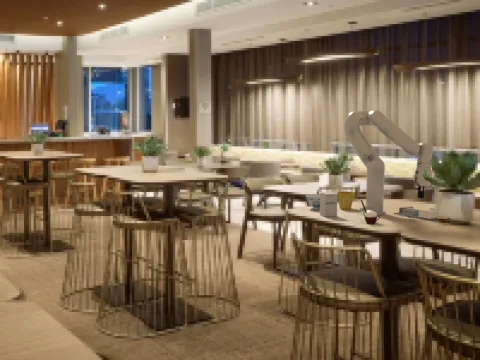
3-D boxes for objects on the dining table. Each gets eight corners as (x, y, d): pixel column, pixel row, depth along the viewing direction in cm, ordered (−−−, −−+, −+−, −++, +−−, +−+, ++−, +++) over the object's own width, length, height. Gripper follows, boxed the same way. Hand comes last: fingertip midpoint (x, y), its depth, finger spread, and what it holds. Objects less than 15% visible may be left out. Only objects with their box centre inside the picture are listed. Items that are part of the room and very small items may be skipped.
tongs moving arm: (422, 215, 327) (422, 210, 327) (404, 212, 338) (405, 207, 337) (424, 215, 328) (424, 210, 328) (407, 212, 339) (407, 207, 338)
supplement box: (324, 217, 328) (325, 193, 327) (319, 214, 336) (319, 192, 334) (337, 216, 330) (337, 193, 329) (331, 214, 337) (332, 191, 336)
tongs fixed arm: (420, 216, 326) (420, 211, 326) (398, 212, 339) (398, 207, 339) (432, 215, 331) (432, 209, 331) (410, 211, 344) (410, 206, 344)
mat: (432, 220, 316) (432, 219, 316) (393, 214, 339) (393, 213, 339) (450, 218, 323) (450, 217, 323) (411, 212, 346) (411, 211, 346)
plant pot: (357, 209, 356) (358, 192, 355) (342, 210, 353) (342, 193, 352) (348, 207, 366) (348, 190, 365) (333, 207, 362) (333, 191, 361)
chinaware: (336, 208, 359) (336, 195, 358) (321, 211, 348) (322, 198, 347) (315, 206, 369) (315, 193, 368) (300, 208, 358) (301, 195, 357)
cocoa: (379, 222, 311) (380, 199, 309) (379, 224, 305) (380, 200, 303) (360, 221, 313) (360, 198, 312) (360, 223, 307) (360, 200, 305)
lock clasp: (429, 218, 317) (430, 211, 317) (418, 216, 324) (418, 209, 323) (442, 217, 323) (442, 209, 322) (431, 215, 329) (431, 208, 329)
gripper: (419, 165, 327) (416, 199, 329) (438, 166, 335) (435, 198, 337) (409, 164, 333) (406, 197, 335) (427, 164, 341) (424, 196, 343)
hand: (420, 197), depth 336 cm, fingers closed
